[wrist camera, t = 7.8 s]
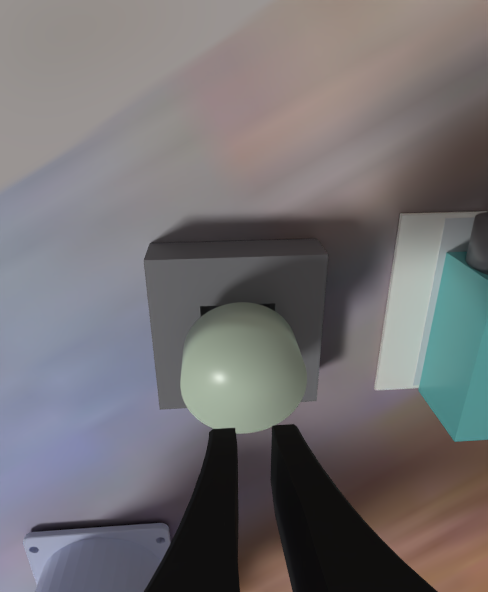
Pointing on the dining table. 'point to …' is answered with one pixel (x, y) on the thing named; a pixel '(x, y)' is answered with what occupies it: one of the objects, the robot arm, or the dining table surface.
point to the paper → (416, 292)
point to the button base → (233, 296)
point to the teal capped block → (461, 342)
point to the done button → (242, 368)
